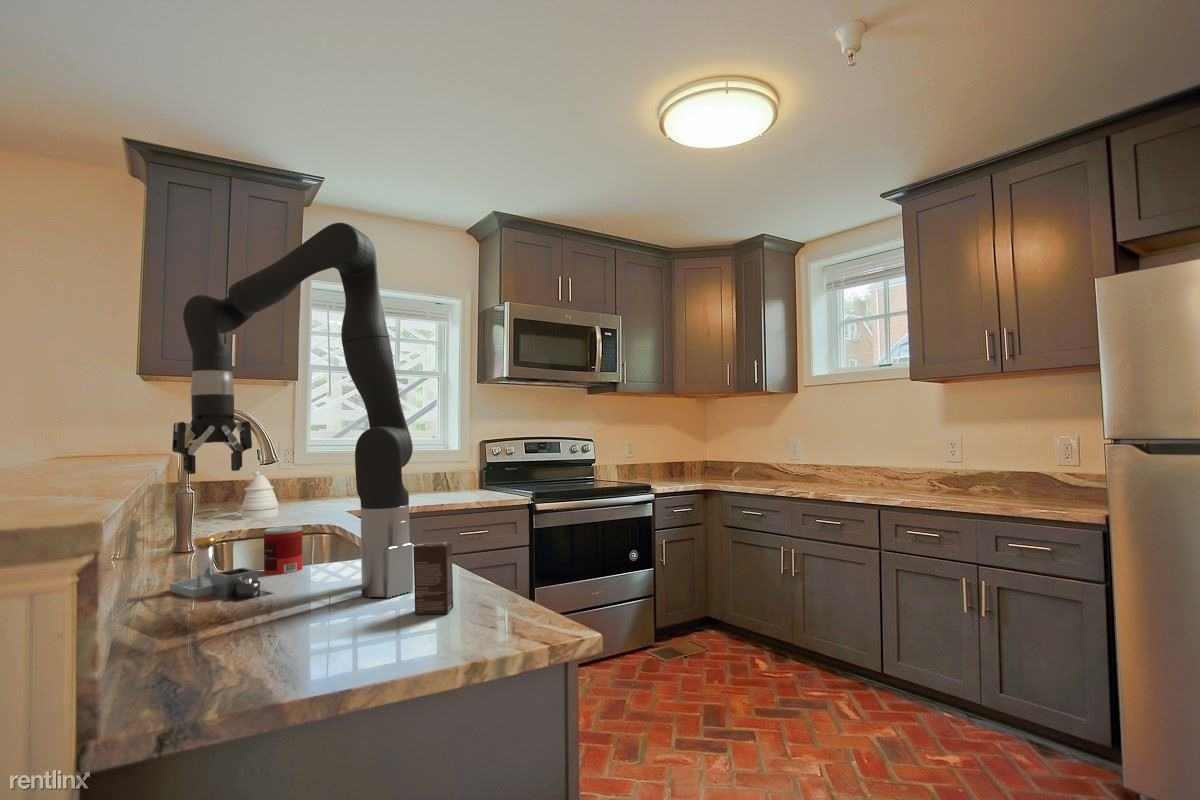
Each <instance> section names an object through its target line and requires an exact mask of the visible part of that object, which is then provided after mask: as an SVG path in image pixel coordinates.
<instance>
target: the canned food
mask: <svg viewBox="0 0 1200 800" xmlns="http://www.w3.org/2000/svg"><path fill="white" fill-rule="evenodd" d="M263 531H264V532H263V570H264V571H263V572H264V574H265V575H270V576H272V575H274V576H275V575H276V576H278V575H286V574H291V573H296V572H299V571H302V570H303V527H302V526H301V525H282V526H275V527H274V526H273V527H268V528H266V529H264V530H263Z"/></svg>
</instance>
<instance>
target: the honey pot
mask: <svg viewBox="0 0 1200 800" xmlns="http://www.w3.org/2000/svg"><path fill="white" fill-rule="evenodd" d="M251 473H252V475H253V476H254V478H253V479H252V481H251V482H250V484H249V486H248V487H245V488H244V490H245V491H246V494H245V495H244V499H243V501H242V503H241V507H240V508H241V517H243V518H262V517H271V516H277V515H280V514H279V509H280V508H279V502H278V500H277V497H276V493H275V492H274V486H273V485H271V483H270V481H269V480H268V479H267V478H266V476H265V475H263V474H260V471H258V470H257V471H252V472H251ZM277 517H278V516H277Z"/></svg>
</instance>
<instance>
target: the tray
mask: <svg viewBox="0 0 1200 800" xmlns="http://www.w3.org/2000/svg"><path fill="white" fill-rule="evenodd" d="M169 592H170V593H175V594H177V595H182V596H185V597H188V598H192V599H195V598H199V597H202V596H203V597H204V596H209V594H213V585H209V586H205V587H200V588H196V577H195V578H191V579H185V580H180V581H175V582H169Z"/></svg>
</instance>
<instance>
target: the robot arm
mask: <svg viewBox="0 0 1200 800" xmlns="http://www.w3.org/2000/svg"><path fill="white" fill-rule="evenodd" d="M377 263H378V262H377V254H376V249H375V246H374V244H373V242H372V241H371V239H370V238H369V237H368V236H367V235H366V234H365V233H363V232H362V231H360V230H359V229H357V228H356V227H354V226H352V225H350V224H348V223H346V222H345V223H344V222H334V223H332V224H329V225H327V226H325V227H323V228H322V229H321V230H319V231H318V232H316V233H315V234H314V235H313V236H311V237H309V238H308V239H307V240H305V241H304V242H303V243H302V244H300V245H299V246H297V247H296V248H294V249H293V250H292V251H290V252H289V253H287V254H286V255H285V256H282V257H281V258H280V259H279V260H276V261H275V262H274V263H271V264H270V265H268V266H266V267H264V268H263V269H261V270H258V271H257V272H255V273H253V274H250V275H248V276H247V277H244V278H242V279H240V280H239V281H237V282H234V283H233V284H231V285H230V287H229V288H228V292H227V294H228V296H227V297H225V298H222V299H219V298H216V297H212V296H208V295H206V294H205V295H204V294H198V295H197V294H196V295H194V296H192V297H191V298H189V299H188V301H186V303H185V305H184V308H183V312H182V320H183V324H184V329H185V331H186V335H187V338H188V343H189V345H190V348H191V352H192V354H191V355H192V360H191V361H192V363H191V364H192V365H191V366H192V375H191V382H190V383H191V384H190V393H191V394H190V395H191V396H190V397H191V399H190V400H191V401H190V403H191V405H190V406H191V421H190V422H183V421H177V422H174V423H173V430H172V432H173V433H172V444H171V445H172V446H171V448H172V449H171V450H172V452H173V453H177V454H180V455H182V456H183V471H184V472H186V474H187V475H195V474H196V473H197V472H196V466H197V465H196V452H197V450H199V448H200V447H201V446H202V445H204V444H208V443H209V444H211V443H212V444H213V443H223V444H224V445H226V446H227V447H228V448H229V449H230V450H231V453H230V461H231V464H230V466H231V467H230V469H231V471H233V472H234V471H235V472H239V471H240V469H241V468H242V467H243V452H244V451H247V450H250V449H252V448H253V442H252V441H253V440H252V429H251V428H252V427H251V426H252V425H251V422H250V421H248V420H247V421H246V420H243V421H239V422H236V421H235V418H234V417H235V385H234V384H235V383H234V382H235V381H234V376H233V354H232V353H233V352H232V349H231V347H230V346H229V345H228V344H226V343H225V342H223V341H222V338H221V334H226V333H231V332H233V331H235V330H237V329H239V327H241V326H242V325H244V324H245V323H246V322H248V320H250V319H251V318H252V317H253V316H254V315H255V314H256V313H259V312H261V311H264V310H266V309H267V308H269V307H271V306H274V305H275V304H278V303H279V302H281V301H283V300H284V299H285V298H287V297H288V296H289V295H290V294H292V293H293V291H295V289H296V288H297V287H298V285H300V284H301V283H302V282H304V281H305V280H306V279H308V278H309V277H311V276H313V275H315V274H317V273H319V272H323V271H325V270H328V269H332V268H333V269H335V270H337V272H338V273H339V276H340V279H341V282H342V288H343V291H344V299H345V305H344V306H345V307H344V313H343V318H342V323H341V330H340V331H341V332H340V336H341V344H342V345H341V346H342V349H343V355H344V360H345V365H346V367H347V368H346V369H347V371H348V374H349V376H350V379H351V380H352V382H353V384H354V386H355V388H356V389H357V392H358V393H359V395H360V398H361V399H362V402H363V404H364V406H365V410H366V413H367V421H368V425H369V426H368V427H369V428H368V429H366V430H364V432H362V433H361V435H360V436H359V437H358V439H357V442H356V443H355V444H356V445H355V450H354V469H355V485H356V486H355V487H356V492H357V495H358V497H359V500H360V551H361V552H360V555H361V556H360V558H361V562H360V563H361V596H363V595H364V596H363V597H365V596H368V597H367V598H370V597H386V598H385V599H389V597H390V598H393V597H392V596H394V597H397V596H401V595H404V594H407V592H408V593H412V592H414V553H413V547H414V545H413V544H412V543H411V542H410V507H409V506H410V499H409V497H410V494H409V491H408V490H407V489H406V488H405V486H404V482H403V473H402V472H403V470H402V468H404V467H405V466H406V465H407V464H408V463H409V461H410V460H411V458H412V456H413V455H412V454H413V450H414V449H413V448H414V447H413V440H412V437H411V434H410V433H411V432H410V430H409V428H408V427H409V426H408V424H407V421H406V420H407V419H406V417H405V413H404V411H403V408H402V403H401V398H400V393H399V387H398V382H397V375H396V369H395V364H394V359H393V358H394V357H393V351H392V347H391V341H390V335H389V332H388V329H387V328H388V327H387V323H386V318H385V313H384V308H383V304H382V300H381V295H380V289H379V288H380V287H379V277H378V264H377ZM189 430H190V431H191V432H192V433H193V434H194V435H193V436H192V437H191V438H190V440H189V441H188V444H187V445H186V434H188V433H189ZM235 430H237V432H239V440H238V438H237V437H236V436H235V435H234V434H233V432H234V431H235ZM403 593H404V594H403ZM400 594H401V595H400ZM396 595H397V596H396Z"/></svg>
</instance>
